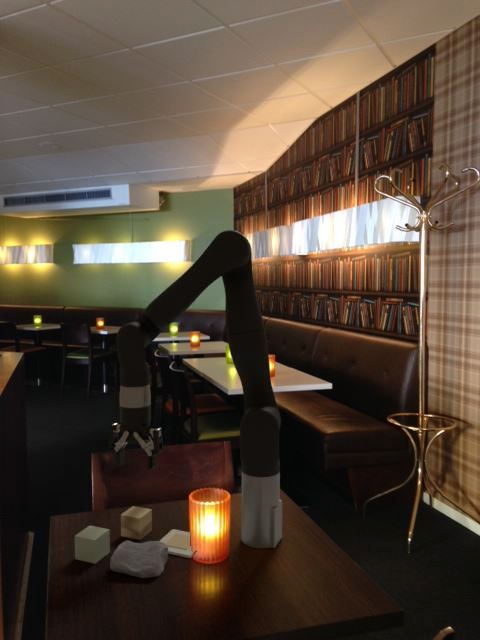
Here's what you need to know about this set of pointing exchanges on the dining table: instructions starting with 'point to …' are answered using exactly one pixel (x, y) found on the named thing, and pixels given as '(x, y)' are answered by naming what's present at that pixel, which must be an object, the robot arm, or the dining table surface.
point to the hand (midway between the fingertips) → (135, 467)
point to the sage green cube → (92, 544)
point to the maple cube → (136, 522)
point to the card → (178, 543)
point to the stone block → (140, 558)
